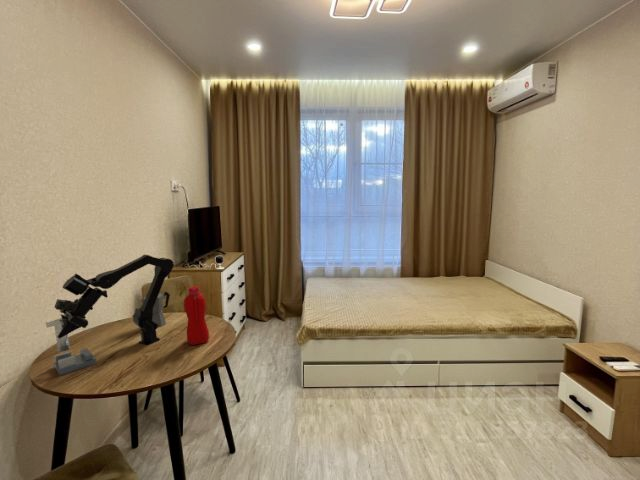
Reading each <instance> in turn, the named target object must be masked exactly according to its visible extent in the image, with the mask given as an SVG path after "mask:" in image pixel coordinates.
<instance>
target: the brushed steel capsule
mask: <svg viewBox="0 0 640 480" xmlns="http://www.w3.org/2000/svg"><path fill="white" fill-rule="evenodd" d="M64 325H65V318H61V317H60V318H56V319H54V320H52V321H48V322H45V327H46V329H47V328H52V327H54V332H55V333H54V334H56V335H55V339H56V345H57V346H56V347H57V351H58V352H61V353H63V352H67V351H68V350H70V348H71V347H70V342H69V335H68V334H67V335H65V336H64V337H62V338H58V335H59V333H60V332H61V330H62V328H63V327H64Z"/></svg>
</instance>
